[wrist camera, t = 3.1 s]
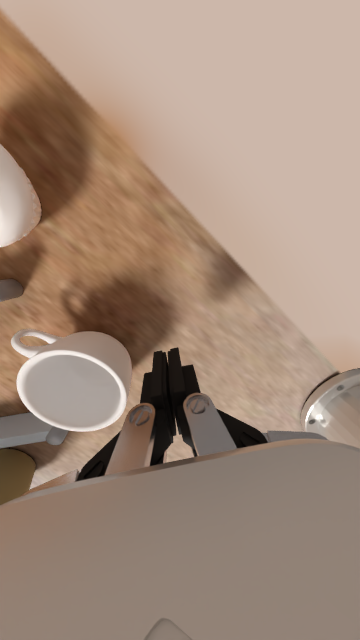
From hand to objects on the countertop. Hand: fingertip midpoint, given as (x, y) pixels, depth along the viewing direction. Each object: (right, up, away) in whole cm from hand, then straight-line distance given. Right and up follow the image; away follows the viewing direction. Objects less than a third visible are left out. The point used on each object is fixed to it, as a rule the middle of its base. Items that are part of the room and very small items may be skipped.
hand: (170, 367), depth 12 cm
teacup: (-8, 0, +6) cm, 10 cm away
